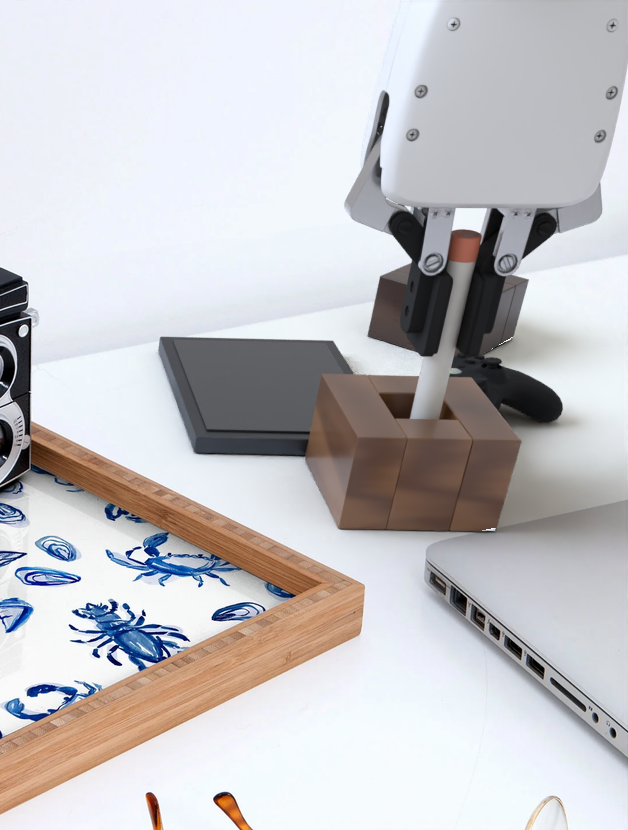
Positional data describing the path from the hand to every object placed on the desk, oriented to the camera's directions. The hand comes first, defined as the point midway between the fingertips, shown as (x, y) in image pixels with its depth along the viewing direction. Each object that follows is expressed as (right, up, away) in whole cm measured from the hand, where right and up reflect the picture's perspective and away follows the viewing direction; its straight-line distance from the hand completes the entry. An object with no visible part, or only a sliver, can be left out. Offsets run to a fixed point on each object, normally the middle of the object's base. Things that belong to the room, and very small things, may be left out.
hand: (441, 344), depth 72 cm
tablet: (-5, 0, +15) cm, 15 cm away
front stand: (-1, -7, +5) cm, 8 cm away
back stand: (+9, +7, +24) cm, 26 cm away
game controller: (+6, -2, +12) cm, 14 cm away
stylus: (0, -6, +4) cm, 8 cm away
